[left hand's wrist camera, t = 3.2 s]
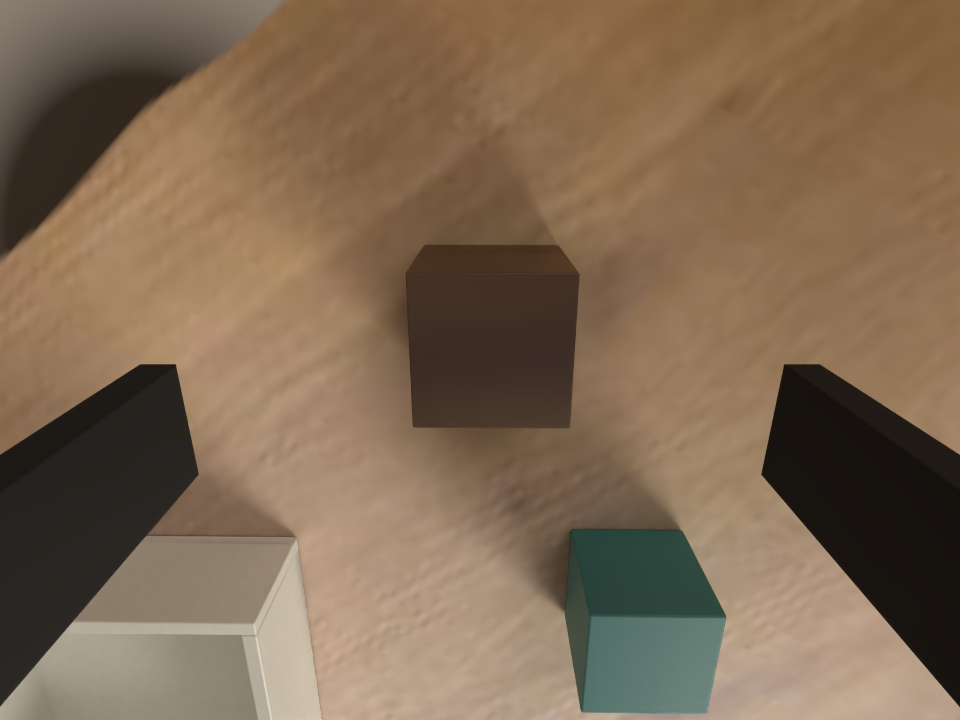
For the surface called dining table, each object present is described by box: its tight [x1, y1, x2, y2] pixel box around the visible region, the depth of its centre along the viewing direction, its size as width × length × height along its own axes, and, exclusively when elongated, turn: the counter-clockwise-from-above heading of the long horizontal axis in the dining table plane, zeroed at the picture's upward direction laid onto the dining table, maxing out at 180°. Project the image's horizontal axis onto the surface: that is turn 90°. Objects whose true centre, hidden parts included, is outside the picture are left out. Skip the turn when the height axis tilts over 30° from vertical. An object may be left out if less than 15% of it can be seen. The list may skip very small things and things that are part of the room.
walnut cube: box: [406, 245, 579, 428], centre depth 19 cm, size 5×5×5 cm
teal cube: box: [565, 530, 726, 714], centre depth 24 cm, size 5×5×5 cm
